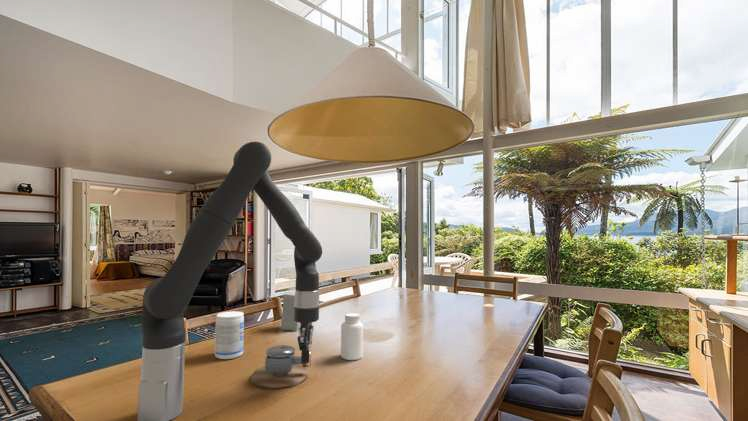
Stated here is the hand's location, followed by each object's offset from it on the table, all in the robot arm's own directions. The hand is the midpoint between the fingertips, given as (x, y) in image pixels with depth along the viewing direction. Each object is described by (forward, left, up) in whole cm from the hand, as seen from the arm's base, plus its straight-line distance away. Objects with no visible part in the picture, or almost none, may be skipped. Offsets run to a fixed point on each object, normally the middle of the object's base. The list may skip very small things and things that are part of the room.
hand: (305, 362), depth 110 cm
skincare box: (+55, +16, -6) cm, 58 cm away
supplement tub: (+20, +31, -6) cm, 38 cm away
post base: (+3, +8, -6) cm, 10 cm away
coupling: (+3, +6, -3) cm, 7 cm away
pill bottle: (+21, -13, -6) cm, 25 cm away
